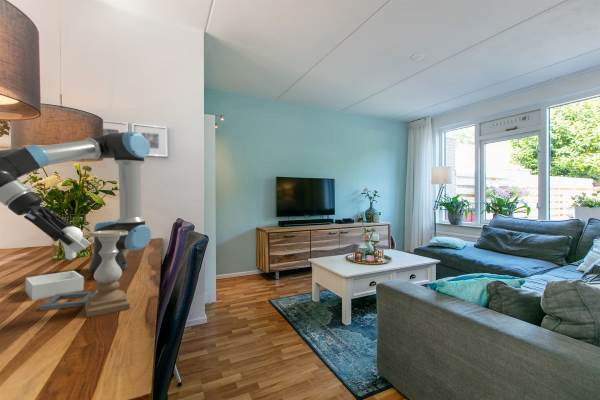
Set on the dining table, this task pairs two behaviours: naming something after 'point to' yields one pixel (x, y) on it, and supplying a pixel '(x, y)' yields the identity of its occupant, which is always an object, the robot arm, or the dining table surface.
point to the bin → (53, 284)
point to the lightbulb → (77, 235)
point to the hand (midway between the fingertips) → (84, 248)
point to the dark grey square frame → (54, 305)
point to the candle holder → (107, 278)
